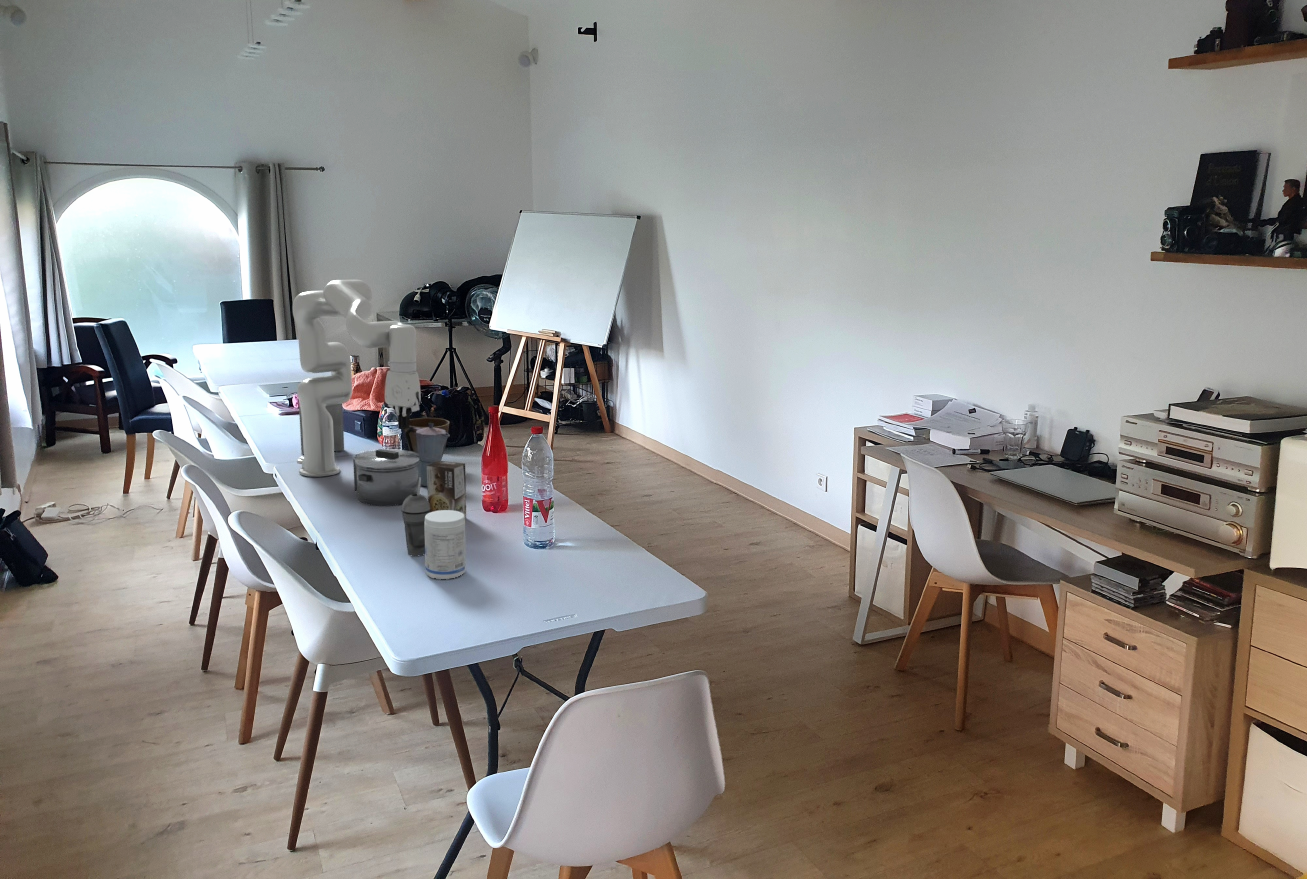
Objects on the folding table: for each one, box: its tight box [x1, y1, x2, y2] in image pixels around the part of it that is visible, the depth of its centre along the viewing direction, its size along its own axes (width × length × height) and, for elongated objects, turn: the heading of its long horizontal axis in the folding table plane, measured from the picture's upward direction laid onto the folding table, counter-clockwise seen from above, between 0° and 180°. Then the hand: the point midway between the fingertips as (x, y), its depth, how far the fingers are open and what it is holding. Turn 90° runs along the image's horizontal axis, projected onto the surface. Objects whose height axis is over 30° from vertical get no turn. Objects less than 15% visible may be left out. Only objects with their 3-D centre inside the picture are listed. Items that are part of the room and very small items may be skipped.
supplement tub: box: [424, 510, 466, 580], centre depth 229 cm, size 10×10×15 cm
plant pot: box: [404, 417, 450, 461], centre depth 324 cm, size 15×15×16 cm
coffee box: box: [427, 460, 467, 519], centre depth 270 cm, size 9×6×16 cm
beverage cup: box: [400, 477, 431, 557], centre depth 242 cm, size 7×7×20 cm
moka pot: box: [405, 423, 450, 487], centre depth 305 cm, size 10×15×20 cm, turn 78°
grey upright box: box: [298, 403, 345, 455], centre depth 342 cm, size 15×6×20 cm, turn 125°
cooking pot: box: [352, 458, 419, 507], centre depth 290 cm, size 20×22×11 cm
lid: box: [354, 448, 419, 469], centre depth 288 cm, size 20×19×3 cm
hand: (403, 428), depth 283 cm, fingers closed
